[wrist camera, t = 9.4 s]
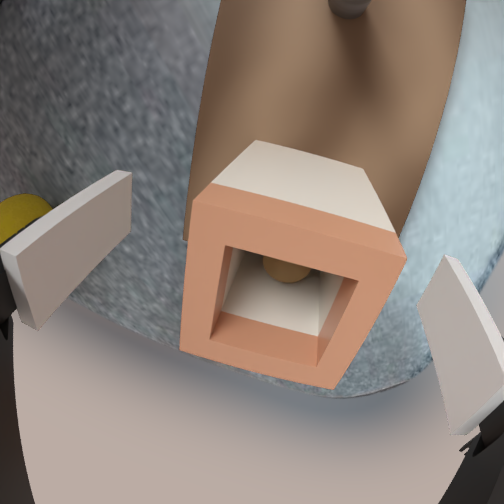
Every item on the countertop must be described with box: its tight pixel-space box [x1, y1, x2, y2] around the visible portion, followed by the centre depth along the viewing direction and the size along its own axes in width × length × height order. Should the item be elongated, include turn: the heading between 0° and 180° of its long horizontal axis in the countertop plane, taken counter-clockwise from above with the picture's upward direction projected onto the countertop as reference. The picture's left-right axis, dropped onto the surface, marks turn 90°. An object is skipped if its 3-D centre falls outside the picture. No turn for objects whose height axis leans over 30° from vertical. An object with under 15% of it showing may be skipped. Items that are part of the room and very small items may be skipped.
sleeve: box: [179, 140, 407, 390], centre depth 13 cm, size 6×6×9 cm
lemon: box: [0, 194, 53, 244], centre depth 18 cm, size 6×6×8 cm
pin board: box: [183, 0, 466, 283], centre depth 12 cm, size 12×19×7 cm, turn 169°
